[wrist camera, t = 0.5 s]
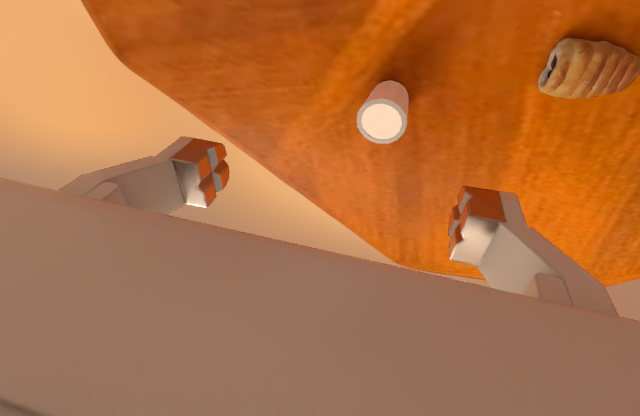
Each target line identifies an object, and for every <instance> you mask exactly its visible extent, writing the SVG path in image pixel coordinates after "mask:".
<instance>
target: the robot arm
mask: <svg viewBox="0 0 640 416" xmlns="http://www.w3.org/2000/svg"><path fill="white" fill-rule="evenodd" d="M226 155H227V154H226V149H225V146H224V145H223V144H222V143H217V142H212V141H206V140H202V139H196V138H191V137H180V138H179V139H178V140H176V141H175V142H174V143H172V144H171V145H170V146H168V147H167V148H166V149H164V150H163V151H162V152H160V153H159V154H158V155H157V156H155V157H154V156H149V157H146V158H142V159H138V160H135V161H131V162H127V163H124V164H120V165H117V166H113V167H109V168H106V169H102V170H99V171H95V172H91V173H87V174H84V175H81V176H79V177H78V178H76V179H75V180H73V181H72V182H70V183H69V184H67V185H66V186H64V187H63V188H61V189H60V190H58V191H57V190H52V189H48V188H44V187H39V186H35V185H30V184H26V183H22V182H17V181H13V180H8V179H4V178H0V416H640V321H637V320H633V319H628V318H624V317H619V315H618V313H617V311H616V309H615V307H614V305H613V303H612V301H611V299H610V297H609V295H608V293H607V290H606V288H605V286H604V285H603V284H601V283H600V282H599V281H598V280H596V279H595V278H594V277H593V276H592V275H590V274H589V273H588V272H587V271H585V270H584V269H583V268H582V267H580V266H579V265H578V264H577V263H575V262H574V261H573V260H572V259H570V258H569V257H568V256H567V255H565V254H564V253H563V252H562V251H560V250H559V249H558V248H557V247H555V246H554V245H553V244H552V243H551V242H549V241H548V240H547V239H546V238H544V237H543V236H542V235H541V234H539V233H538V232H537V231H536V230H534V229H533V228H529V227H527V224H526V221H525V218H524V215H523V212H522V209H521V206H520V203H519V200H518V197H517V195H516V194H515V193H509V192H502V191H494V190H488V189H481V188H474V187H468V186H462V188H461V189H460V192H459V194H458V205H456V206H455V207H453V210H452V213H451V216H450V220H449V226H448V235H449V236H450V238H451V241H450V243H449V258H450V260H452V261H456V262H460V263H464V264H468V265H472V266H477V267H478V269H479V270H480V272H481V273H482V275H483V276H484V277H485V279H486V280H487V281H488V283H489V284H490V285H491V287H492V288H490V287H485V286H481V285H477V284H473V283H468V282H464V281H459V280H455V279H450V278H446V277H441V276H437V275H432V274H428V273H423V272H419V271H414V270H410V269H406V268H401V267H397V266H392V265H388V264H383V263H378V262H374V261H370V260H365V259H361V258H356V257H352V256H347V255H342V254H338V253H334V252H330V251H325V250H321V249H316V248H312V247H307V246H303V245H298V244H294V243H289V242H284V241H280V240H276V239H272V238H267V237H263V236H258V235H254V234H249V233H245V232H240V231H236V230H231V229H227V228H222V227H218V226H213V225H209V224H205V223H200V222H196V221H191V220H187V219H182V218H178V217H173V216H169V215H167V214H169V213H171V212H173V211H175V210H177V209H179V208H181V207H182V206H184V205H185V204H188V205H193V206H199V207H204V208H207V207H208V206H209V205H210V204H211V203H212V201H213V200H214V199H215V198H216V192H218V191H220V190H223V189H224V187H225V186H226V185H227V182H228V179H229V166H228V164H227V163H226V162H225V161H224V158H225V157H226Z"/></svg>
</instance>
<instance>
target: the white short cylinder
mask: <svg viewBox="0 0 640 416" xmlns="http://www.w3.org/2000/svg"><path fill="white" fill-rule="evenodd" d="M408 102H409V99H408V92H407V91H406V89H405V87H404V86H403V85H401V84H400V83H399V82H395V81H391V80H390V81H383V82H381V83H380V84H378V85H376V87H375V88H374V89H373V91H372V92H371V94H370V95H369V97H368V98H367V99H366V101H365V102H364V104H363V105H362V107H361V108H360V110H359V111H358V115H357V119H356V120H357V125H358V129H359V130H360V132H361V133H362V135H363V136H364V137H366V138H367V139H368V140H370V141H372V142H375V143H379V144H384V143H391V142H393V141H395V140H398V139H399V138H400V137H401V136H402V135H403V134H404V131H405V129H406V126H407V116H408Z"/></svg>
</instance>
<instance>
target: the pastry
mask: <svg viewBox="0 0 640 416" xmlns="http://www.w3.org/2000/svg"><path fill="white" fill-rule="evenodd" d="M639 75H640V58H639V57H638V56H636V55H634V54H631V53H630V52H628V51H627V50H626V49H624V48H621V47H618V46H614V45H612V44H610V43H609V42H607V41H599V42H593V41H589V40H584V39H574V38H573V39H572V38H564V39H562V40H561V41H560V42H559V43H558V44H557V45H556V47H555V48H554V49H553V51H552V52H551V54H550V57H549V60H548V63H547V67H546V68H545V69H544V70H543V72H542V73H541V75H540V77H539V79H538V88H539V90H540V92H541V93H546V94H549V95H551V96H555V97H557V98H571V99H580V98H584V99H586V98H589V97H597V96H600V95H605V94H612V93H616V92H620V91H622V90H624V89H625V88H627V87H628V86H629V85H630V84H631V83H632V82H633V81H634V80H635V79H636V78H637V77H638V76H639Z"/></svg>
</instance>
